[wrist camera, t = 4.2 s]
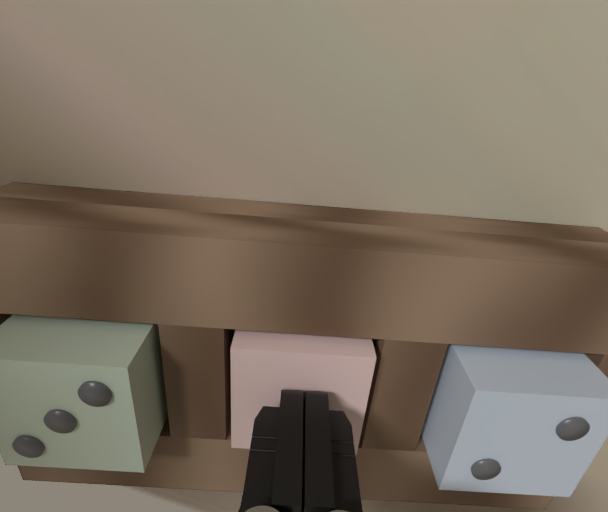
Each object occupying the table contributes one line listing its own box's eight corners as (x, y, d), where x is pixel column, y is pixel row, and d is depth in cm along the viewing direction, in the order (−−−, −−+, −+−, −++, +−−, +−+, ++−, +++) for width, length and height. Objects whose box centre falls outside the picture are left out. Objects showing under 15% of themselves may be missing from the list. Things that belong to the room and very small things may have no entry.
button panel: (72, 408, 18) (22, 479, 15) (12, 182, 13) (-79, 217, 10) (505, 435, 19) (545, 509, 16) (598, 227, 14) (684, 273, 11)
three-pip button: (50, 405, 14) (3, 467, 12) (22, 307, 12) (-42, 359, 10) (168, 412, 14) (143, 475, 12) (158, 316, 12) (125, 370, 10)
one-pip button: (241, 395, 15) (230, 450, 13) (242, 303, 14) (229, 350, 11) (349, 401, 16) (356, 457, 13) (365, 312, 14) (377, 360, 11)
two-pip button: (419, 427, 15) (439, 492, 12) (447, 336, 13) (477, 393, 10) (531, 434, 15) (571, 500, 13) (575, 344, 13) (632, 403, 11)
